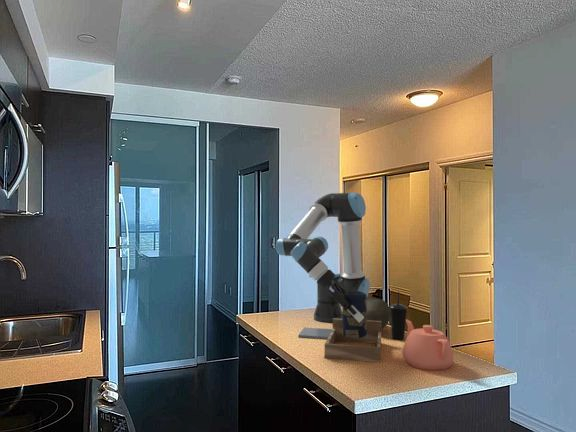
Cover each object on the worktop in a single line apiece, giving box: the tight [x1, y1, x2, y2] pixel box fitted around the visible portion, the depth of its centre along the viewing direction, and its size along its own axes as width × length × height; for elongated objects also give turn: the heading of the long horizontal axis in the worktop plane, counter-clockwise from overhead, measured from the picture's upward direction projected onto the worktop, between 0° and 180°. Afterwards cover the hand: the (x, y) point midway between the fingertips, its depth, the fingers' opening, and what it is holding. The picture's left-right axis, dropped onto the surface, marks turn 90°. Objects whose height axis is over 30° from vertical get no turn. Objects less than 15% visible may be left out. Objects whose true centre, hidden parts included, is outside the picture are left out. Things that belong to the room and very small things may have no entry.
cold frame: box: [323, 318, 382, 363], centre depth 172 cm, size 26×20×9 cm
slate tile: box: [297, 327, 333, 340], centre depth 195 cm, size 14×14×1 cm
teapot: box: [402, 318, 455, 371], centre depth 158 cm, size 25×17×13 cm
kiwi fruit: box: [367, 297, 391, 330], centre depth 202 cm, size 14×14×15 cm
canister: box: [341, 290, 368, 338], centre depth 172 cm, size 10×10×18 cm
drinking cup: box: [388, 291, 408, 341], centre depth 190 cm, size 8×8×20 cm
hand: (362, 316), depth 171 cm, fingers closed on canister, 9 cm apart
